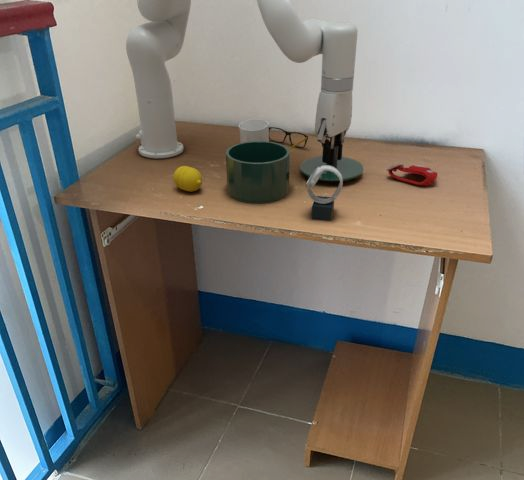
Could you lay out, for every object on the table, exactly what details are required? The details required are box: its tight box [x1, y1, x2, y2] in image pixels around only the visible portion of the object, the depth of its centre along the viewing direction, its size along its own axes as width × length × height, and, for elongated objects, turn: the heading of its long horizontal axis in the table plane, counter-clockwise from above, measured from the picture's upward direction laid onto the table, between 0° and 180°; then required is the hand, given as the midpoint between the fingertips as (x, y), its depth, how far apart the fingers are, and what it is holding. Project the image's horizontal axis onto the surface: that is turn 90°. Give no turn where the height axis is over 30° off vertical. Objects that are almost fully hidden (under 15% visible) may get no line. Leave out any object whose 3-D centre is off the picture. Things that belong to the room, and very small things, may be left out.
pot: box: [225, 141, 291, 204], centre depth 135 cm, size 15×15×10 cm
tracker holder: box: [385, 163, 438, 187], centre depth 141 cm, size 12×4×10 cm
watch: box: [305, 165, 344, 222], centre depth 124 cm, size 6×8×11 cm
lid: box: [299, 144, 364, 182], centre depth 143 cm, size 16×16×7 cm
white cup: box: [238, 118, 270, 143], centre depth 149 cm, size 8×8×10 cm
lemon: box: [173, 165, 203, 193], centre depth 137 cm, size 9×6×6 cm, turn 52°
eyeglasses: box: [269, 126, 309, 150], centre depth 158 cm, size 14×14×4 cm
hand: (331, 160), depth 143 cm, fingers closed on lid, 2 cm apart
